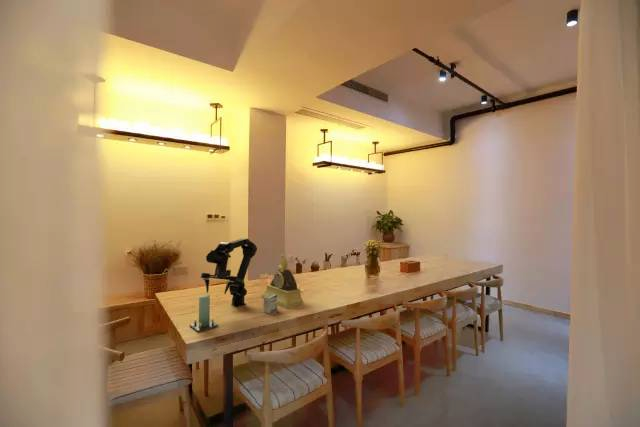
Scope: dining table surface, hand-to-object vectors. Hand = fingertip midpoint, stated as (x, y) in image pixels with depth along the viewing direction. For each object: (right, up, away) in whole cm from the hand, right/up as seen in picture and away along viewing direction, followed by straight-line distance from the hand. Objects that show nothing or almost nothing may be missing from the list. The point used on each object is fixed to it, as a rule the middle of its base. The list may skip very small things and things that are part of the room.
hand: (216, 293), depth 152 cm
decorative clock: (+32, -13, +28) cm, 44 cm away
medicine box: (+28, -13, +10) cm, 32 cm away
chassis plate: (-1, -13, -14) cm, 19 cm away
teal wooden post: (-1, -12, -13) cm, 18 cm away
